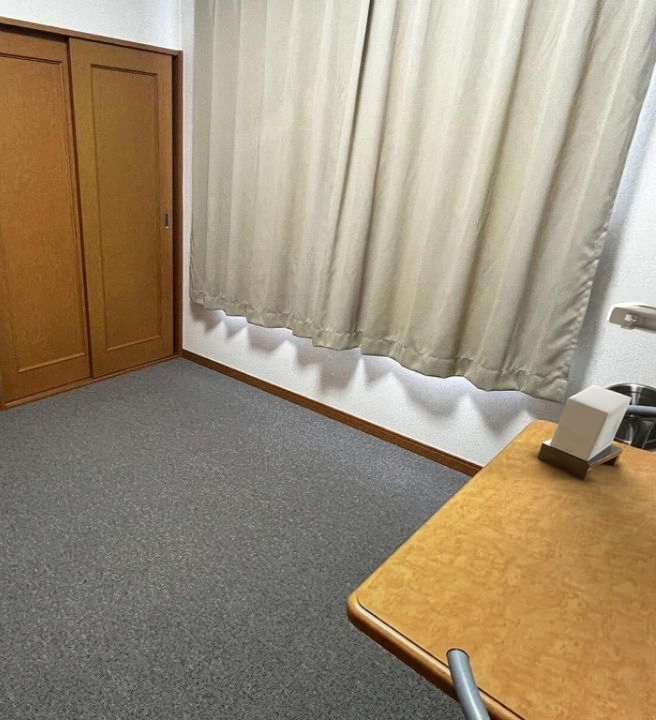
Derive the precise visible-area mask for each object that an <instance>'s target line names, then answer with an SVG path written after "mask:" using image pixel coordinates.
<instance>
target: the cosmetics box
mask: <svg viewBox="0 0 656 720" xmlns="http://www.w3.org/2000/svg"><path fill="white" fill-rule="evenodd" d="M632 399H633V398H632V397H631V396H628V395H625V394H622V393H619V392H616V391H614V390H611V389H607V388H605V387H601V386H598V385H595V384H591V385H589V386H588V387H586V388H584V389H583V390H581V391H579V392H577V393H575V394H573V395H572V396H570V397H568V398H567V400H566V403H565V405H564V408H563V410H562V413H561V416H560V419H559V421H558V424H557V426H556V428H555V430H554V433H553V436H552V438H551V439H552V440H551V443H550V446H552V447H555V448H557V449H559V450H562V451H564V452H566V453H569V454H571V455H573V456H576V457H578V458H580V459H583V460H585V461H589V460H590V459H591V458H593V457H594V456H596V455H597V454H598V453H600V452H601V451H602V450H604V449H605V448H607V447H608V446H610V445H611V444H613V442H614V439H615V437H616V434H617V432H618V430H619V427H620V425H621V423H622V421H623V419H624V416H625V414H626V413H627V410H628V407H629V406H630V404H631V401H632Z"/></svg>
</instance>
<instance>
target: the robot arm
mask: <svg viewBox="0 0 656 720" xmlns="http://www.w3.org/2000/svg"><path fill="white" fill-rule="evenodd" d="M607 314H608V315H607V321H608V322H609V324H613V325H616V326H620V329H623V330H628V331H631V330H636V331H641V332H646V333H650V334H655V335H656V305H652V304H647V303H641V302H624V303H618V304H614V305H612V306H611V308H610V310H609V312H608V313H607Z"/></svg>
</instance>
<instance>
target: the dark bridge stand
mask: <svg viewBox="0 0 656 720" xmlns="http://www.w3.org/2000/svg"><path fill="white" fill-rule="evenodd" d="M551 440H552V438H550V439H548V440H545V441H543V442H541V445H540V448H539V452H538V455H537V458H538V459H540V460H541V461H543V462H546V463H547V464H549V465H552V466H554V467H555V468H558V469H559V470H562V471H564V472H566V473H568V474H570V475H572V476H574V477H576V478H577V479H580V480H581V481H586V480H587V479H588V478H589V475H590V473H591V471H592V469H593V468H595V467H597V466H599V465H602V464H604V463H606V464H609V465H610V466H614V467H615V466H616V465H618V463H619V460H620V459H621V456H622V454H623V451H624V448H622V447H620V446H618V445H615V444H613V443H612V444H611V445H610V446H608V447H607V448H605V449H604V450H602V451H601V452H600V453H598V454H597V455H596V456H594V457H593V458H591V459H590V460H589V461H585V460H583V459H580V458H578V457H576V456H573V455H571V454H569V453H566V452H564V451H562V450H559V449H557V448H555V447H552V446H550V443H551Z"/></svg>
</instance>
